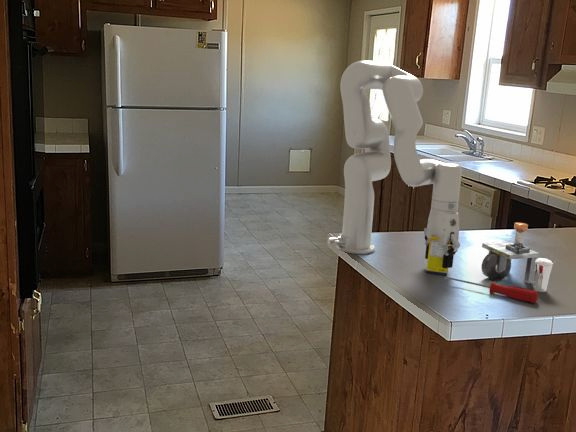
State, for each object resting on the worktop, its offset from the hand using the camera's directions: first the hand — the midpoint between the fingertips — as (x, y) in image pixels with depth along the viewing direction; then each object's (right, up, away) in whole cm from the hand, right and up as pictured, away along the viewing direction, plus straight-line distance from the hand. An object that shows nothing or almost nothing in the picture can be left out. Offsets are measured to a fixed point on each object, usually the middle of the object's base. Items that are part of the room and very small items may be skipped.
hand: (438, 262), depth 178 cm
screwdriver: (+10, -7, -15) cm, 19 cm away
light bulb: (+21, +4, -6) cm, 22 cm away
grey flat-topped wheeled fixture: (+18, -4, -3) cm, 18 cm away
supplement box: (0, -3, +1) cm, 3 cm away
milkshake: (+26, -7, -11) cm, 29 cm away
